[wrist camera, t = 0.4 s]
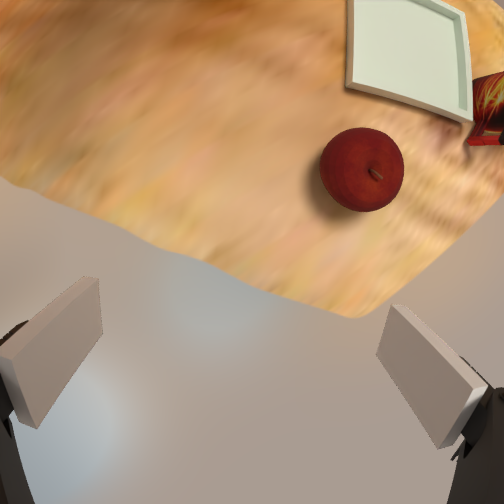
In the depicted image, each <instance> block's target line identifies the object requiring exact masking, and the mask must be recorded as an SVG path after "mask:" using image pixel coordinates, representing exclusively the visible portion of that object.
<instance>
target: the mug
mask: <svg viewBox="0 0 504 504" xmlns="http://www.w3.org/2000/svg"><path fill="white" fill-rule="evenodd" d="M472 92H473V119H474V120H475V122H476V123H477V124H476V126H475V128H474V130H473V131H472V133H471V135H470V137H469V138H468V140H467V142H468V144H469V145H470V146H483V145H504V71H503V72H499V73H495V74H491V75H488V76H484V77H480V78H477V79H474V80H473V81H472ZM484 131H485V132H487V133H501V135H498V136H482V134H483V132H484Z"/></svg>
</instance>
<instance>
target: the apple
mask: <svg viewBox="0 0 504 504" xmlns="http://www.w3.org/2000/svg"><path fill="white" fill-rule="evenodd" d="M320 174H321V178H322V181H323V183H324V186H325V187H326V189H327V190H328V192H329V193H330V195H331V196H332V197H333V198H334V199H335V200H336V201H337V202H338V203H340V204H341V205H343V206H344V207H347V208H349V209H351V210H354V211H358V212H370V211H375V210H378V209H380V208H383V207H385V206H386V205H388V204H389V203H390V202H391V201H392V200H393V199H394V198H395V197H396V195H397V194H398V192H399V190H400V187H401V185H402V181H403V176H404V162H403V158H402V154H401V152H400V150H399V148H398V146H397V145H396V143H395V142H394V141H393V140H392V139H391V138H390V137H389V136H388V135H387V134H385V133H383V132H381V131H378V130H374V129H370V128H361V127H360V128H353V129H349V130H346V131H343V132H341V133H340V134H338V135H336V136H335V137H334V138H333V139H332V140H331V141H330V142H329V143H328V144H327V146H326V147H325V149H324V151H323V153H322V156H321V160H320Z"/></svg>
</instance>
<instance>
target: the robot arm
mask: <svg viewBox="0 0 504 504" xmlns="http://www.w3.org/2000/svg"><path fill="white" fill-rule="evenodd" d="M102 334H103V330H102V320H101V310H100V297H99V281H98V278H91V277H82V278H81V279H80V280H78V281H77V282H76V283H75V284H73V285H72V286H71V287H70V288H68V289H67V290H66V291H65V292H63V293H62V294H61V295H60V296H58V297H57V298H56V299H55V300H54V301H52V302H51V303H50V304H49V305H47V306H46V307H45V308H44V309H43V310H42V311H40V312H39V313H38V314H37V315H36V316H34V317H33V318H32V319H31V320H30V321H28V320H27V321H25V322H23V323H20V324H18V325H16V326H15V327H14V328H13V329H12V330H11V331H9V333H7V334H6V335H5V336H4V337H3V339H0V504H35V503H34V501H33V497H32V495H31V492H30V489H29V486H28V483H27V480H26V477H25V474H24V470H23V467H22V463H21V460H20V456H19V452H18V448H17V444H16V440H15V436H14V431H13V426H12V423H11V420H10V418H9V415H10V414H11V412H12V411H13V410H14V411H15V413H16V416H17V418H18V420H19V422H21V423H23V424H25V425H28V426H30V427H32V428H35V429H38V427H39V426H40V424H41V422H42V421H43V419H44V418H45V416H46V415H47V413H48V412H49V410H50V409H51V407H52V405H53V404H54V402H55V401H56V399H57V398H58V396H59V395H60V393H61V392H62V390H63V389H64V388H65V386H66V384H67V383H68V382H69V380H70V379H71V377H72V376H73V374H74V373H75V372H76V370H77V369H78V367H79V366H80V364H81V363H82V362H83V360H84V359H85V357H86V356H87V355H88V353H89V352H90V350H91V349H92V348H93V346H94V345H95V343H96V342H97V341H98V339H99V338H100V336H101V335H102ZM376 356H377V357H378V359H379V360H380V362H381V363H382V365H383V366H384V368H385V369H386V370H387V372H388V373H389V375H390V377H391V378H392V379H393V381H394V382H395V384H396V386H397V387H398V389H399V390H400V391H401V393H402V395H403V396H404V398H405V399H406V401H407V402H408V404H409V405H410V407H411V408H412V410H413V411H414V413H415V415H416V416H417V418H418V419H419V421H420V422H421V424H422V425H423V427H424V428H425V430H426V432H427V433H428V435H429V437H430V438H431V440H432V441H433V443H434V445H435V446H436V448H437V449H441V448H445V447H448V446H451V445H453V444H454V443H455V441H456V440H457V438H458V436H459V435H460V434H462V435H463V436H464V437H465V439H464V441H463V442H462V444H461V445H460V446H459V448H458V450H457V451H456V452H455V454H454V455H453V456H452V458H451V460H452V461H453V460H454V459H455V457H456V456H458V455H459V456H458V460H457V465H456V470H455V474H454V479H453V483H452V487H451V490H450V494H449V498H448V501H447V504H504V388H502V387H501V388H496V389H494V388H493V387H492V386H491V385H490V384H489V383H488V382H486V380H485V379H484V378H483V377H482V376H481V375H480V374H479V373H478V372H476V370H475V369H474V368H473V367H470V364H469V363H468V362H467V361H466V360H465V359H464V358H462V357H460V356H459V355H457V354H456V353H455V352H454V351H453V350H452V349H451V348H450V347H449V346H448V345H447V344H446V343H445V342H444V341H443V340H442V339H441V338H440V337H438V335H437V334H435V333H434V332H433V331H432V330H431V329H430V328H429V327H428V326H427V325H426V324H425V323H424V322H423V321H422V320H420V319H419V318H418V317H417V316H416V315H415V314H414V313H413V312H412V311H410V309H408V308H407V307H406V306H405V305H395V304H391V307H390V310H389V314H388V317H387V321H386V324H385V327H384V331H383V334H382V337H381V340H380V343H379V347H378V350H377V353H376Z"/></svg>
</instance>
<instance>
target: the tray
mask: <svg viewBox="0 0 504 504" xmlns="http://www.w3.org/2000/svg"><path fill="white" fill-rule="evenodd" d="M345 87H346V88H350V89H355V90H359V91H363V92H367V93H371V94H375V95H379V96H382V97H386V98H390V99H393V100H397V101H400V102H403V103H407V104H410V105H413V106H416V107H419V108H422V109H425V110H428V111H431V112H434V113H437V114H439V115H442V116H445V117H448V118H450V119H453V120H455V121H458V122H460V123H463V122H471V121H473V92H472V72H471V59H470V49H469V40H468V32H467V25H466V19H465V13H464V12H462V11H460V10H458V9H456V8H454V7H453V6H451V5H449V4H447V3H445V2H443V1H441V0H347V51H346V75H345Z"/></svg>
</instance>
